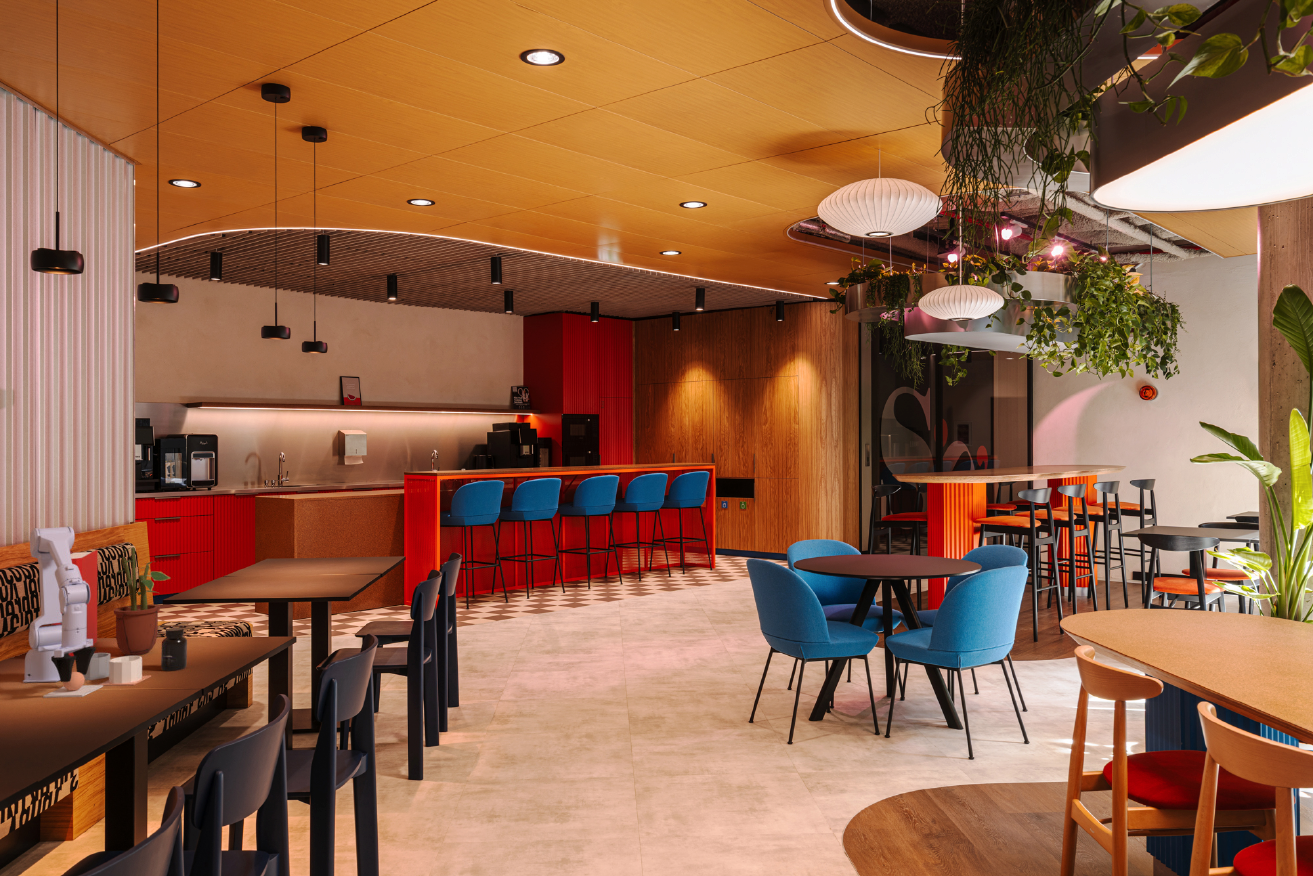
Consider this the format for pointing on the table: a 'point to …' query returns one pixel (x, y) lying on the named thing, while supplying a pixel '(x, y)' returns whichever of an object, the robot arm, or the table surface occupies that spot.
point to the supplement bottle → (174, 650)
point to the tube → (125, 671)
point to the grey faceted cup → (98, 666)
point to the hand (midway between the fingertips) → (74, 678)
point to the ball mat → (76, 693)
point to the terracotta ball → (75, 681)
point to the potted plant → (137, 613)
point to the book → (89, 575)
